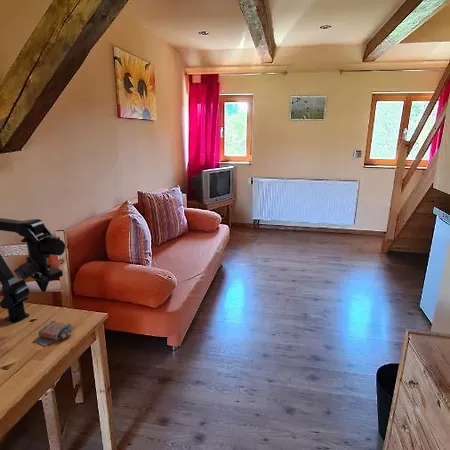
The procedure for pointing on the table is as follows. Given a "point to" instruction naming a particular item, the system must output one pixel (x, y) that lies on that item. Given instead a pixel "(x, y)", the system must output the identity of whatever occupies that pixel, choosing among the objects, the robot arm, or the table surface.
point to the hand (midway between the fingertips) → (43, 291)
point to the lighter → (56, 330)
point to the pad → (44, 341)
